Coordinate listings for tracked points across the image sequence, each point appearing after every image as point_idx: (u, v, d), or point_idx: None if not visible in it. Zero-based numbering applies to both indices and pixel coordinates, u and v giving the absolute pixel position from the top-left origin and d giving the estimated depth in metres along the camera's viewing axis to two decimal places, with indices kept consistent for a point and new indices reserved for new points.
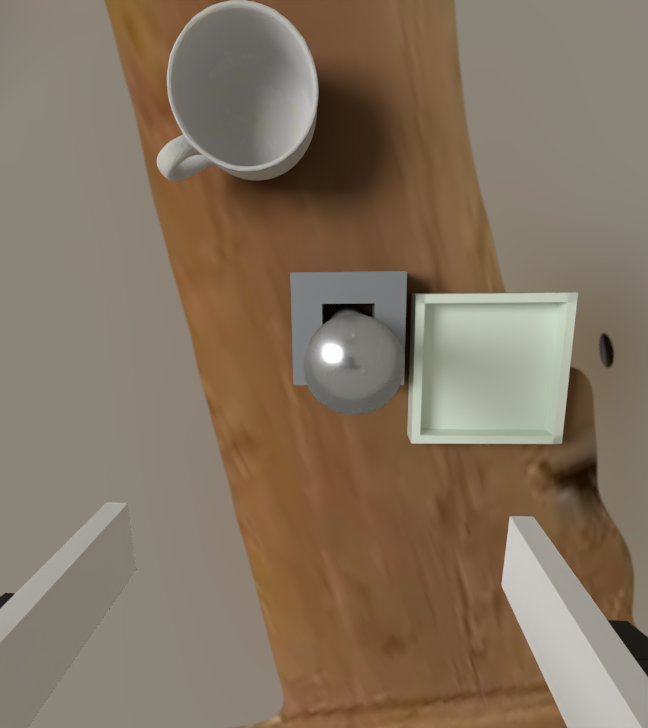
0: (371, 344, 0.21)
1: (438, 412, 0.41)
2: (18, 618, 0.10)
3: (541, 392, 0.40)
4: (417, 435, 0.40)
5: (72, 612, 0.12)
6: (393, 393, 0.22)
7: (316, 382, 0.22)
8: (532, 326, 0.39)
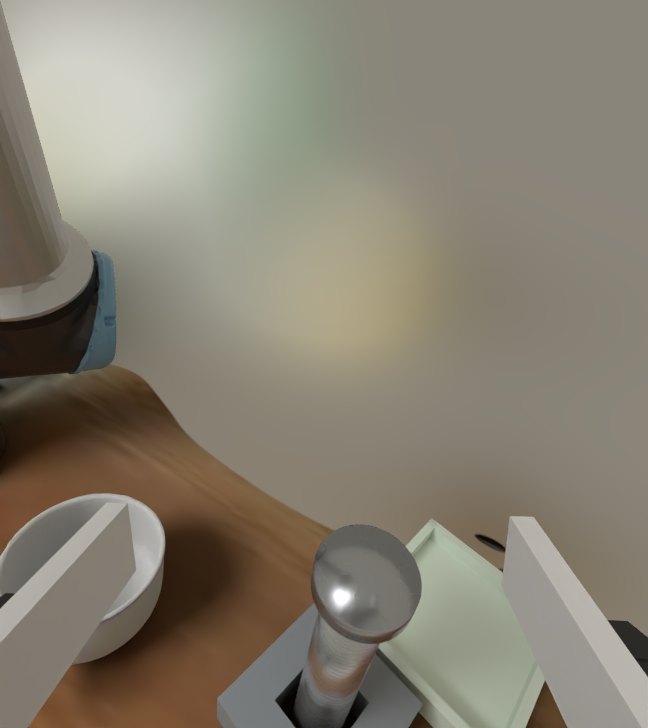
0: (361, 544, 0.21)
1: (479, 715, 0.31)
2: (18, 618, 0.10)
3: (504, 604, 0.39)
4: None
5: (72, 612, 0.12)
6: (416, 566, 0.21)
7: (355, 614, 0.18)
8: (438, 565, 0.41)
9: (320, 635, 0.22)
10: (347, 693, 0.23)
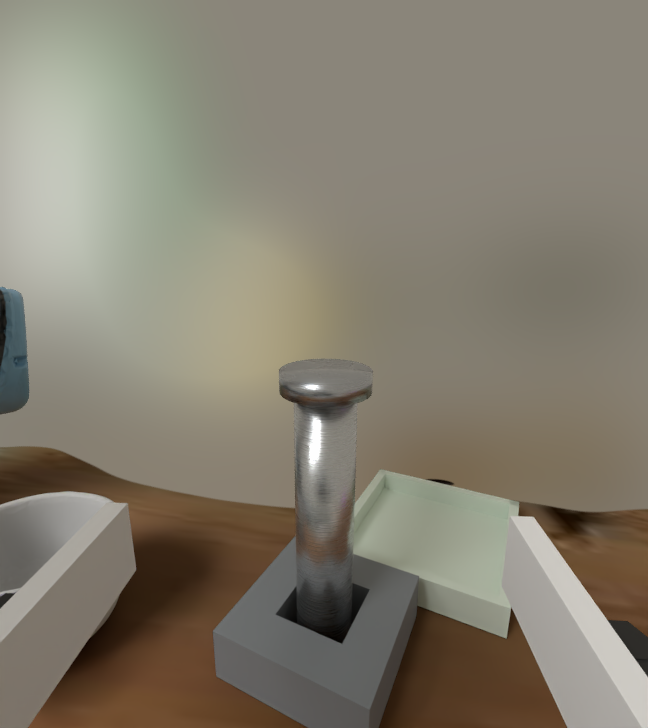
0: (315, 364, 0.25)
1: (474, 587, 0.32)
2: (18, 618, 0.10)
3: (465, 512, 0.41)
4: (498, 598, 0.29)
5: (72, 612, 0.12)
6: (363, 364, 0.24)
7: (324, 381, 0.21)
8: (399, 503, 0.43)
9: (301, 459, 0.23)
10: (342, 529, 0.24)
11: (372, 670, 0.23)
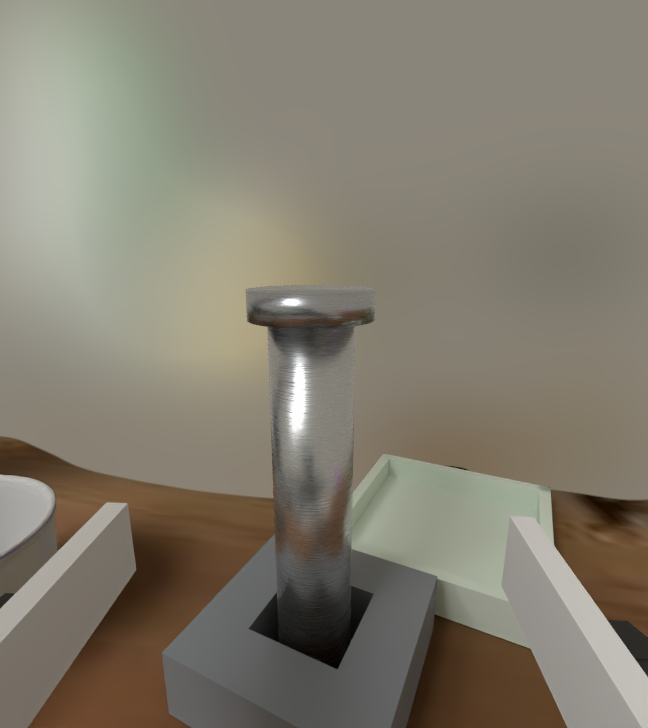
0: (297, 287, 0.18)
1: None
2: (18, 618, 0.10)
3: (485, 501, 0.35)
4: None
5: (72, 612, 0.12)
6: (363, 287, 0.18)
7: (306, 292, 0.15)
8: (406, 491, 0.36)
9: (278, 413, 0.17)
10: (336, 510, 0.18)
11: (380, 709, 0.16)
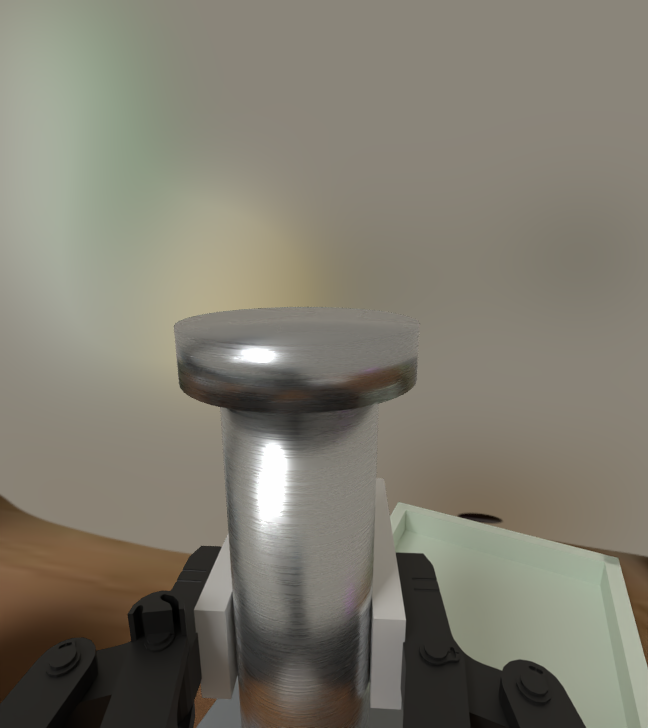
0: (277, 312, 0.10)
1: None
2: None
3: (532, 572, 0.27)
4: None
5: None
6: (391, 313, 0.10)
7: (285, 337, 0.07)
8: (429, 556, 0.29)
9: (238, 547, 0.09)
10: (343, 709, 0.10)
11: None
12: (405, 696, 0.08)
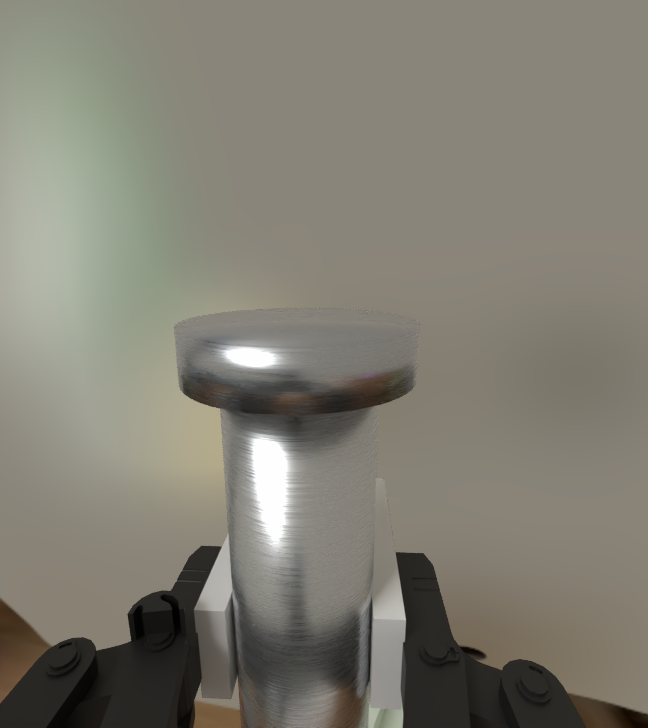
0: (277, 313, 0.10)
1: None
2: None
3: None
4: None
5: None
6: (391, 314, 0.10)
7: (285, 338, 0.07)
8: None
9: (238, 549, 0.09)
10: (343, 711, 0.10)
11: None
12: (405, 696, 0.08)
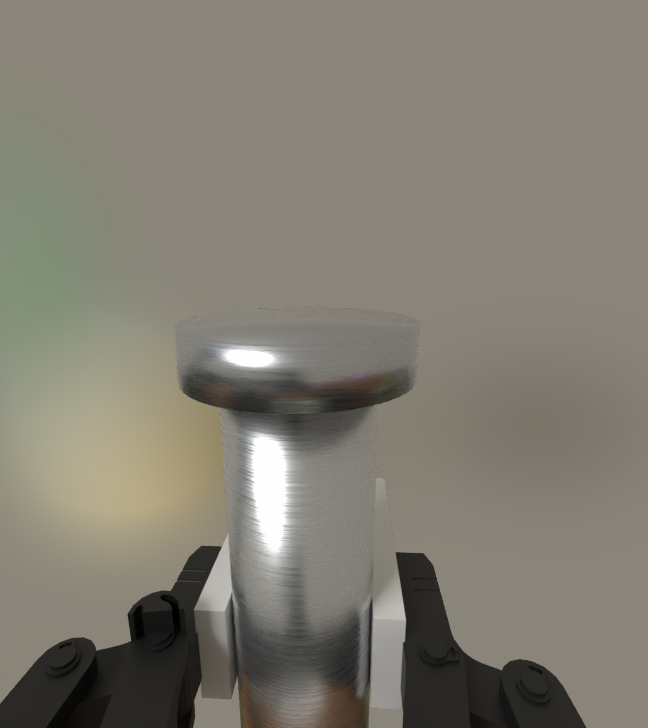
0: (277, 312, 0.10)
1: None
2: None
3: None
4: None
5: None
6: (391, 313, 0.10)
7: (285, 337, 0.07)
8: None
9: (238, 548, 0.09)
10: (343, 711, 0.10)
11: None
12: (405, 696, 0.08)
